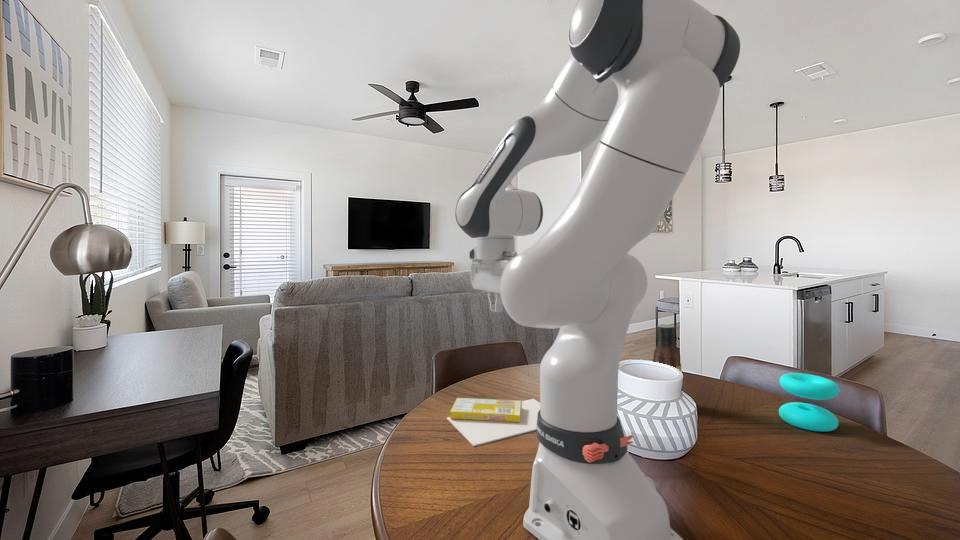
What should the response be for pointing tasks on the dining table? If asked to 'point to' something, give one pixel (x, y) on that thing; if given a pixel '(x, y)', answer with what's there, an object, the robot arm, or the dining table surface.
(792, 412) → the donuts
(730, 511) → the dining table surface
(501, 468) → the dining table surface
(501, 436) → the rubber mat
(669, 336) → the sauce bottle
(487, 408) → the candy box
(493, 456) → the dining table surface
